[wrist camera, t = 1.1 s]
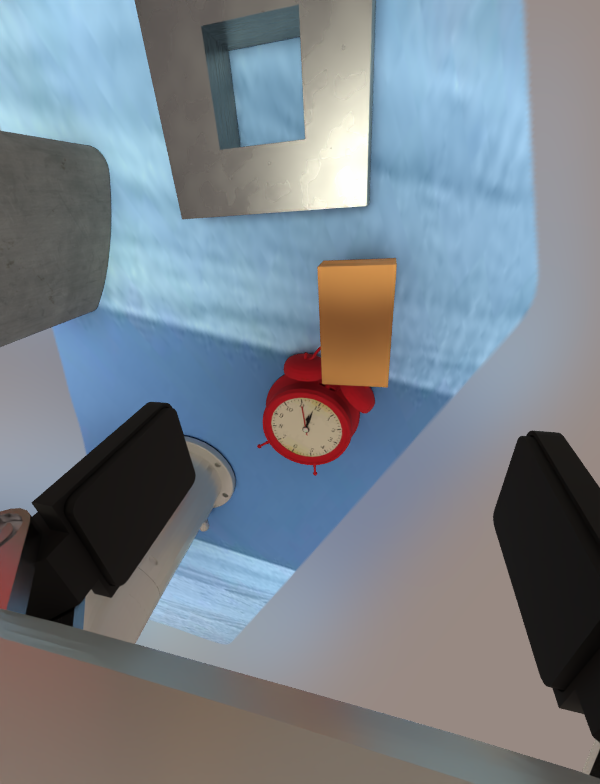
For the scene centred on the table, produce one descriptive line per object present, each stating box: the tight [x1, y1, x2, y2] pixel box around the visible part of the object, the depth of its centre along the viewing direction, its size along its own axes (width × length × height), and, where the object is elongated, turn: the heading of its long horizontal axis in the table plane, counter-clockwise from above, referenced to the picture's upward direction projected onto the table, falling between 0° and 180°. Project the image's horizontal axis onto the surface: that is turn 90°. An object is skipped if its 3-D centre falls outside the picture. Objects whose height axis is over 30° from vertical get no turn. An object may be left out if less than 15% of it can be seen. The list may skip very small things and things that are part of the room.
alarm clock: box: [257, 346, 375, 475], centre depth 34 cm, size 10×6×15 cm
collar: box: [135, 0, 376, 219], centre depth 22 cm, size 14×14×4 cm
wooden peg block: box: [318, 258, 397, 387], centre depth 24 cm, size 7×4×12 cm, turn 4°
